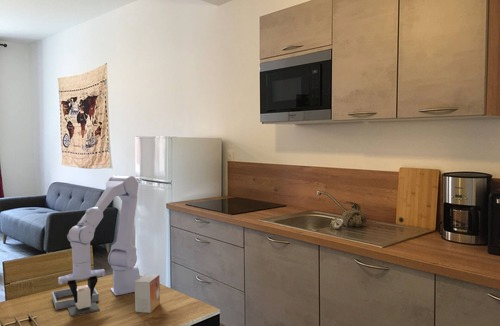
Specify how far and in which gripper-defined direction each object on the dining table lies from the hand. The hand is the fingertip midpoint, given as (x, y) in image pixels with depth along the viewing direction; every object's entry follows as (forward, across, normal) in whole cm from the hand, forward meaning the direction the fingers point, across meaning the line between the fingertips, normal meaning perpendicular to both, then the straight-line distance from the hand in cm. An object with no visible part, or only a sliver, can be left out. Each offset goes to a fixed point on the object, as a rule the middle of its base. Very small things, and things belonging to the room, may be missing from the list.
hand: (83, 300), depth 137 cm
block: (+2, 0, 0) cm, 2 cm away
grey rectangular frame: (+3, +1, -11) cm, 11 cm away
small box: (+3, -19, +12) cm, 22 cm away
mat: (+3, 0, 0) cm, 3 cm away
